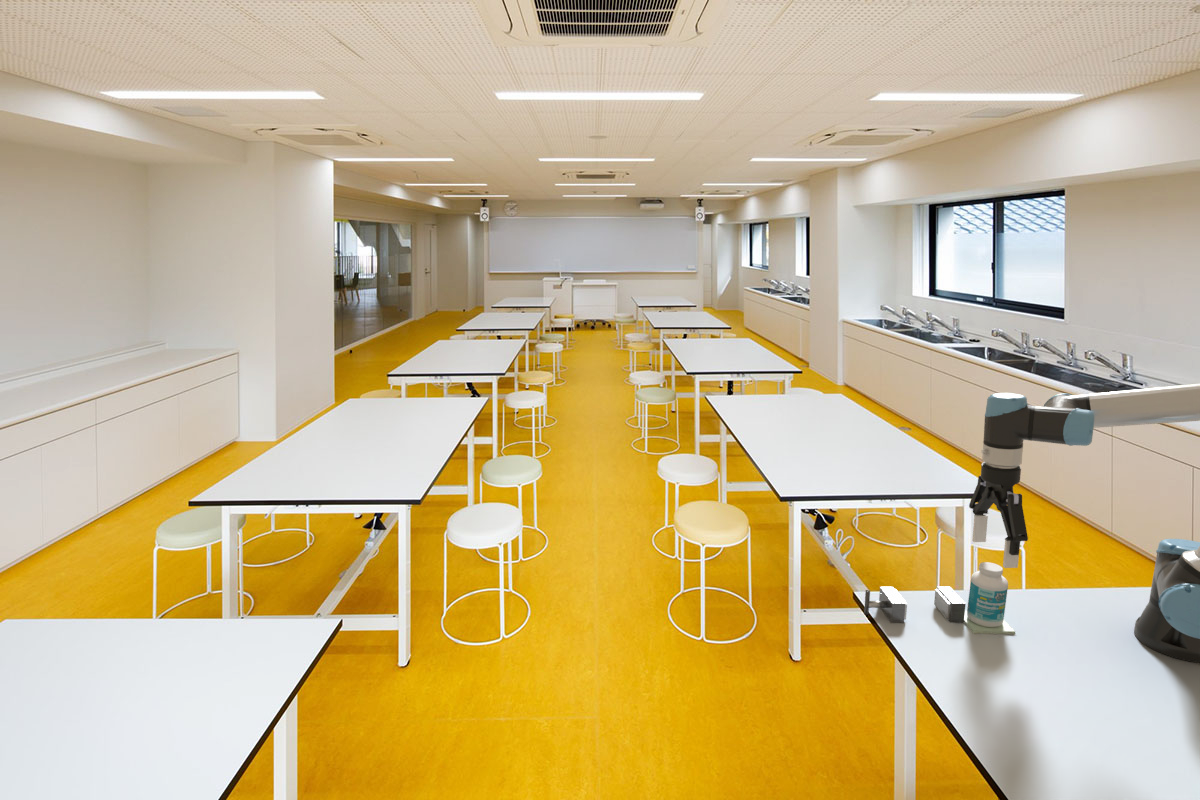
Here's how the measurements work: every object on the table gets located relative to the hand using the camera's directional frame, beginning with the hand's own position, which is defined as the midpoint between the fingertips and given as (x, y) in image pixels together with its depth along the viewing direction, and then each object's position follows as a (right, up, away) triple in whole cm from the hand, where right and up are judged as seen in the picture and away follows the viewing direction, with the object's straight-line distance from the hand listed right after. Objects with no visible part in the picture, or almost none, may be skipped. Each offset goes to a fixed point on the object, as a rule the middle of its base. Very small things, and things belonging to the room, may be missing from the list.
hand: (993, 553), depth 154 cm
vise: (-15, -17, +9) cm, 25 cm away
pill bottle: (0, -16, +4) cm, 17 cm away
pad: (0, -17, +4) cm, 17 cm away
